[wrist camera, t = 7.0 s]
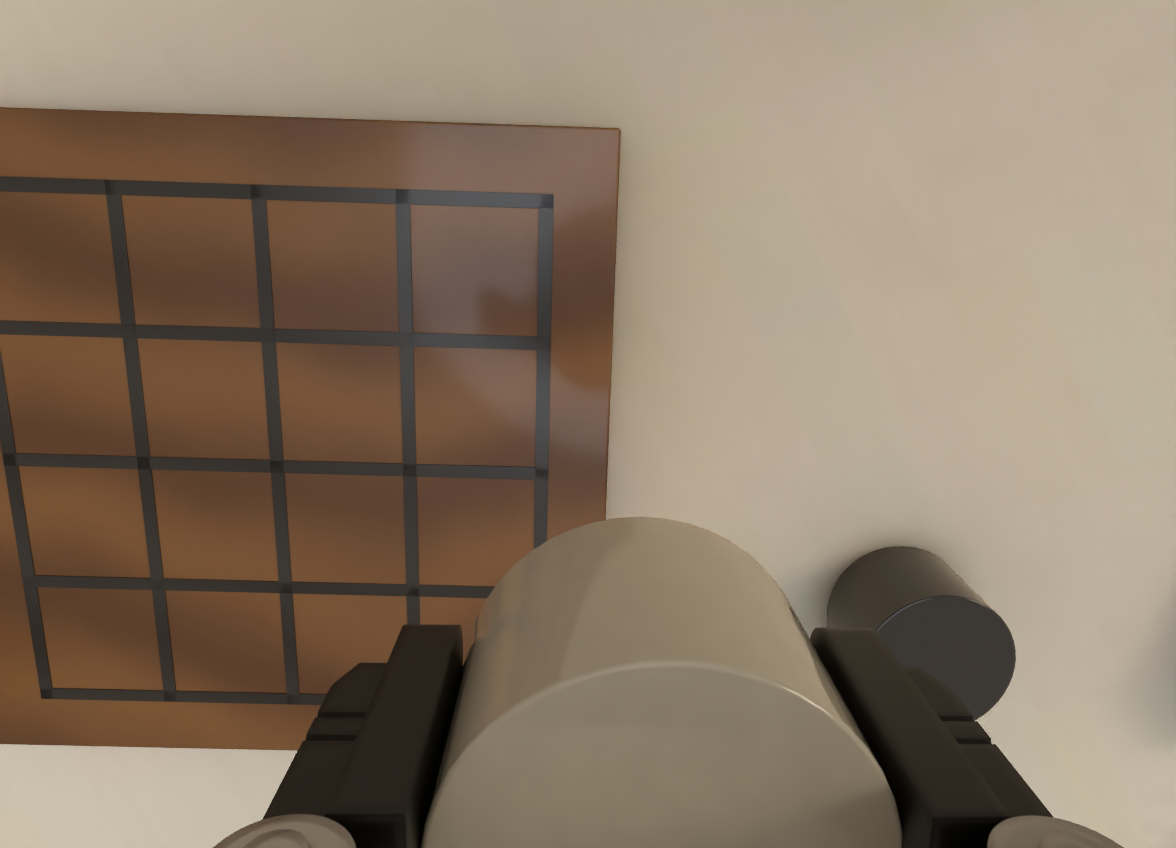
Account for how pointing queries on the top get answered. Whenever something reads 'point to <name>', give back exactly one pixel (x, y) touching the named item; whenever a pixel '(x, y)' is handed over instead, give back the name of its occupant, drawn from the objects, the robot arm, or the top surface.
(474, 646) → the ivory stone
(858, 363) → the top surface
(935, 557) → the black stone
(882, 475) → the top surface
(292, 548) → the board
